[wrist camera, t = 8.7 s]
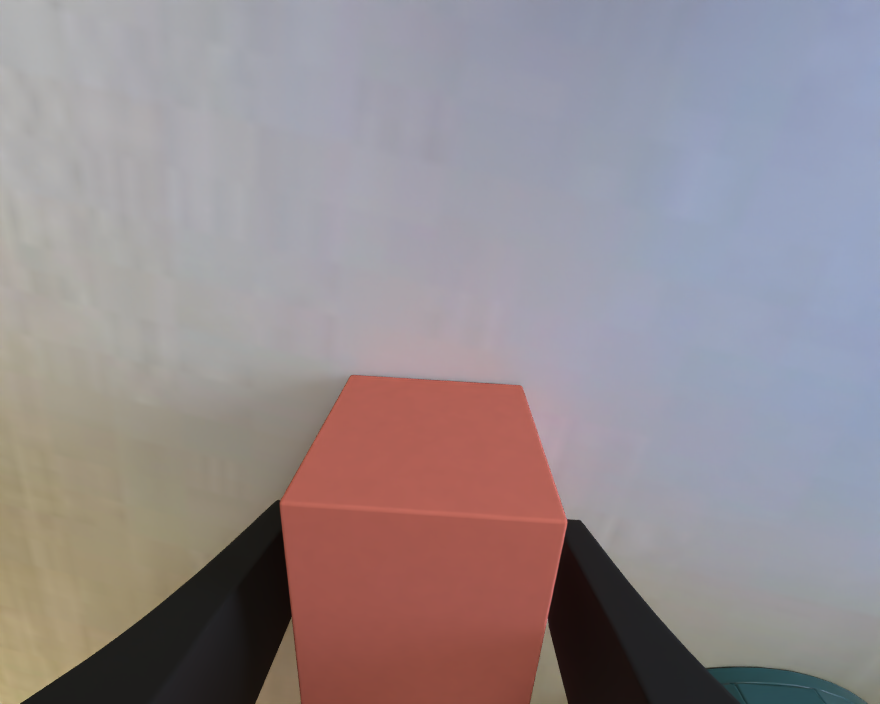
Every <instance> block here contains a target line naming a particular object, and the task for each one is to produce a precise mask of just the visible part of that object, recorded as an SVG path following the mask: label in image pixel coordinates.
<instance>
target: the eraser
mask: <svg viewBox="0 0 880 704" xmlns="http://www.w3.org/2000/svg"><path fill="white" fill-rule="evenodd" d="M280 513H281V523H282V532H283V541H284V550H285V559H286V568H287V577H288V586H289V596H290V605H291V614H292V623H293V632H294V641H295V650H296V660H297V669H298V678H299V687H300V696H301V704H530V700H531V695H532V690H533V686H534V681H535V676H536V671H537V666H538V662H539V657H540V652H541V647H542V643H543V638H544V633H545V628H546V623H547V619H548V614H549V609H550V604H551V599H552V595H553V590H554V585H555V580H556V575H557V571H558V566H559V561H560V556H561V552H562V547H563V542H564V537H565V532H566V528H567V523H568V522H567V518H566V515H565V512H564V509H563V506H562V504H561V501H560V498H559V495H558V492H557V489H556V486H555V483H554V480H553V477H552V474H551V471H550V468H549V465H548V462H547V459H546V456H545V453H544V450H543V447H542V444H541V441H540V438H539V435H538V432H537V429H536V426H535V423H534V420H533V417H532V414H531V411H530V408H529V405H528V402H527V400H526V397H525V394H524V391H523V388H522V386H520V385H505V384H489V383H472V382H456V381H440V380H424V379H408V378H392V377H376V376H360V375H351V376H350V377H349V379H348V381H347V383H346V385H345V386H344V388H343V390H342V392H341V394H340V395H339V397H338V399H337V401H336V402H335V404H334V406H333V408H332V410H331V411H330V413H329V415H328V417H327V419H326V420H325V422H324V424H323V426H322V427H321V429H320V431H319V433H318V435H317V436H316V438H315V440H314V442H313V444H312V445H311V447H310V449H309V451H308V452H307V454H306V456H305V458H304V460H303V461H302V463H301V465H300V467H299V468H298V470H297V472H296V474H295V476H294V477H293V479H292V481H291V483H290V485H289V486H288V488H287V490H286V492H285V493H284V495H283V497H282V499H281V501H280Z"/></svg>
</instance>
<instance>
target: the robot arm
mask: <svg viewBox="0 0 880 704" xmlns="http://www.w3.org/2000/svg"><path fill="white" fill-rule="evenodd" d="M280 501H281V500H277V501H276V502H274V503H273V504H272V505H271V506H270V507H269V508H268V509H267V510H266V511H265V512H263V513H262V514H261V515H260V516H259V517H258V518H257V519H256V520H255V521H254V522H253V523H252V524H251V525H250V526H249V527H248V528H246V529H245V530H244V531H243V532H242V533H241V534H240V535H239V536H238V537H237V538H236V539H235V540H234V541H233V542H231V543H230V544H229V545H228V546H227V547H226V548H225V549H224V550H223V551H221V552H220V553H219V554H218V555H217V556H216V557H215V558H214V559H213V560H211V561H210V562H209V563H208V564H207V565H206V566H205V567H204V568H202V569H201V570H200V571H199V572H198V573H197V574H196V575H194V576H193V577H192V578H191V579H190V580H189V581H187V582H186V583H185V584H184V585H182V586H181V587H180V588H179V589H178V590H176V591H175V592H174V593H173V594H172V595H170V596H169V597H168V598H167V599H166V600H164V601H163V602H162V603H161V604H160V605H158V606H157V607H156V608H155V609H153V610H152V611H151V612H150V613H148V614H147V615H146V616H144V617H143V618H142V619H141V620H139V621H138V622H137V623H136V624H134V625H133V626H132V627H130V628H129V629H128V630H126V631H125V632H124V633H122V634H121V635H120V636H118V637H117V638H115V639H114V640H113V641H111V642H110V643H109V644H107V645H106V646H105V647H103V648H102V649H101V650H99V651H98V652H96V653H95V654H94V655H92V656H91V657H89V658H88V659H86V660H85V661H83V662H82V663H81V664H79V665H78V666H76V667H75V668H73V669H72V670H70V671H69V672H67V673H66V674H64V675H62V676H61V677H59V678H58V679H56V680H55V681H53V682H52V683H50V684H49V685H47V686H46V687H44V688H43V689H41V690H40V691H38V692H37V693H35V694H34V695H32V696H31V697H29V698H28V699H26V700H25V701H23V702H22V703H20V704H255V703H256V700H257V698H258V696H259V693H260V691H261V688H262V686H263V684H264V681H265V679H266V677H267V674H268V672H269V670H270V667H271V665H272V662H273V660H274V658H275V655H276V653H277V651H278V648H279V646H280V644H281V641H282V639H283V636H284V634H285V632H286V629H287V627H288V624H289V622H290V619H291V617H292V614H291V605H290V596H289V586H288V577H287V568H286V559H285V550H284V541H283V532H282V523H281V513H280ZM567 522H568V523H567V528H566V532H565V537H564V542H563V547H562V552H561V556H560V561H559V566H558V571H557V575H556V580H555V585H554V590H553V595H552V599H551V604H550V609H549V614H548V623H549V629H550V633H551V637H552V641H553V645H554V649H555V653H556V657H557V661H558V665H559V669H560V673H561V677H562V681H563V685H564V689H565V693H566V697H567V700H568V704H741V703H740V702H739V701H738V700H737V699H736V698H735V697H734V696H733V695H732V694H731V693H730V692H729V691H728V690H727V689H726V688H725V687H724V686H723V685H722V684H721V683H720V682H719V681H718V680H717V679H716V678H714V677H713V676H712V675H711V674H710V673H709V672H708V671H707V670H706V669H705V668H704V666H703V665H702V664H701V663H700V662H699V661H698V660H697V659H696V658H695V657H694V656H693V655H692V654H691V653H690V652H689V651H688V650H687V649H686V647H685V646H684V645H683V644H682V643H681V642H680V641H679V640H678V639H677V637H676V636H675V635H674V634H673V633H672V632H671V631H670V630H669V629H668V628H667V626H666V625H665V624H664V623H663V622H662V621H661V620H660V618H659V617H658V616H657V615H656V614H655V613H654V611H653V610H652V609H651V608H650V607H649V606H648V604H647V603H646V602H645V601H644V600H643V598H642V597H641V596H640V595H639V594H638V592H637V591H636V590H635V589H634V588H633V586H632V585H631V584H630V583H629V582H628V580H627V579H626V578H625V577H624V575H623V574H622V573H621V572H620V570H619V569H618V568H617V566H616V565H615V564H614V563H613V561H612V560H611V559H610V558H609V556H608V555H607V554H606V552H605V551H604V550H603V549H602V547H601V546H600V545H599V543H598V542H597V541H596V539H595V538H594V537H593V535H592V534H591V533H590V532H589V530H588V529H587V528H586V526H585V525H584V524H583V523H582V522H581V520H569V519H567Z"/></svg>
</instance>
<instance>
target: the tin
mask: <svg viewBox="0 0 880 704" xmlns="http://www.w3.org/2000/svg"><path fill="white" fill-rule="evenodd" d="M706 670H707V671H708V672H709V673H710V674H711V675H712V676H713V677H714V678H716V679H717V680H718V681H719V682H720V683H721V684H722V685H723V686H724V687H725V688H726V689H727V690H728V691H729V692H730V693H731V694H732V695H733V696H734V697H735V698H736V699H737V700H738V701H739V702H740V703H741V704H868V703H867V702H865V701H864V700H862V699H861V698H859V697H858V696H856V695H855V694H853V693H852V692H850V691H848V690H846V689H844V688H842V687H840V686H838V685H836V684H834V683H832V682H829V681H826V680H823V679H820V678H817V677H814V676H810V675H806V674H801V673H796V672H792V671H786V670H778V669H769V668H752V667H730V668H712V669H706Z"/></svg>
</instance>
